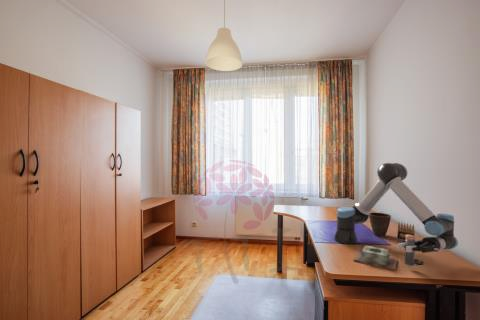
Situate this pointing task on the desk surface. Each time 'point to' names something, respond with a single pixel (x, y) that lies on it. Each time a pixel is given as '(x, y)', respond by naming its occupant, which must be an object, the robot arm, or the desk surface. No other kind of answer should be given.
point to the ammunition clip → (405, 230)
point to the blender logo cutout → (418, 262)
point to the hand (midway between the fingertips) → (402, 247)
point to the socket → (376, 257)
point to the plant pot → (379, 223)
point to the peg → (409, 255)
